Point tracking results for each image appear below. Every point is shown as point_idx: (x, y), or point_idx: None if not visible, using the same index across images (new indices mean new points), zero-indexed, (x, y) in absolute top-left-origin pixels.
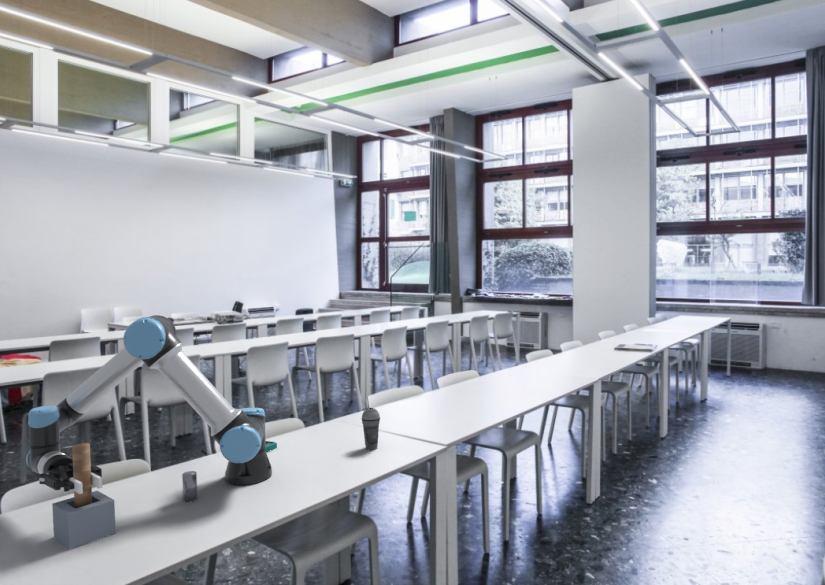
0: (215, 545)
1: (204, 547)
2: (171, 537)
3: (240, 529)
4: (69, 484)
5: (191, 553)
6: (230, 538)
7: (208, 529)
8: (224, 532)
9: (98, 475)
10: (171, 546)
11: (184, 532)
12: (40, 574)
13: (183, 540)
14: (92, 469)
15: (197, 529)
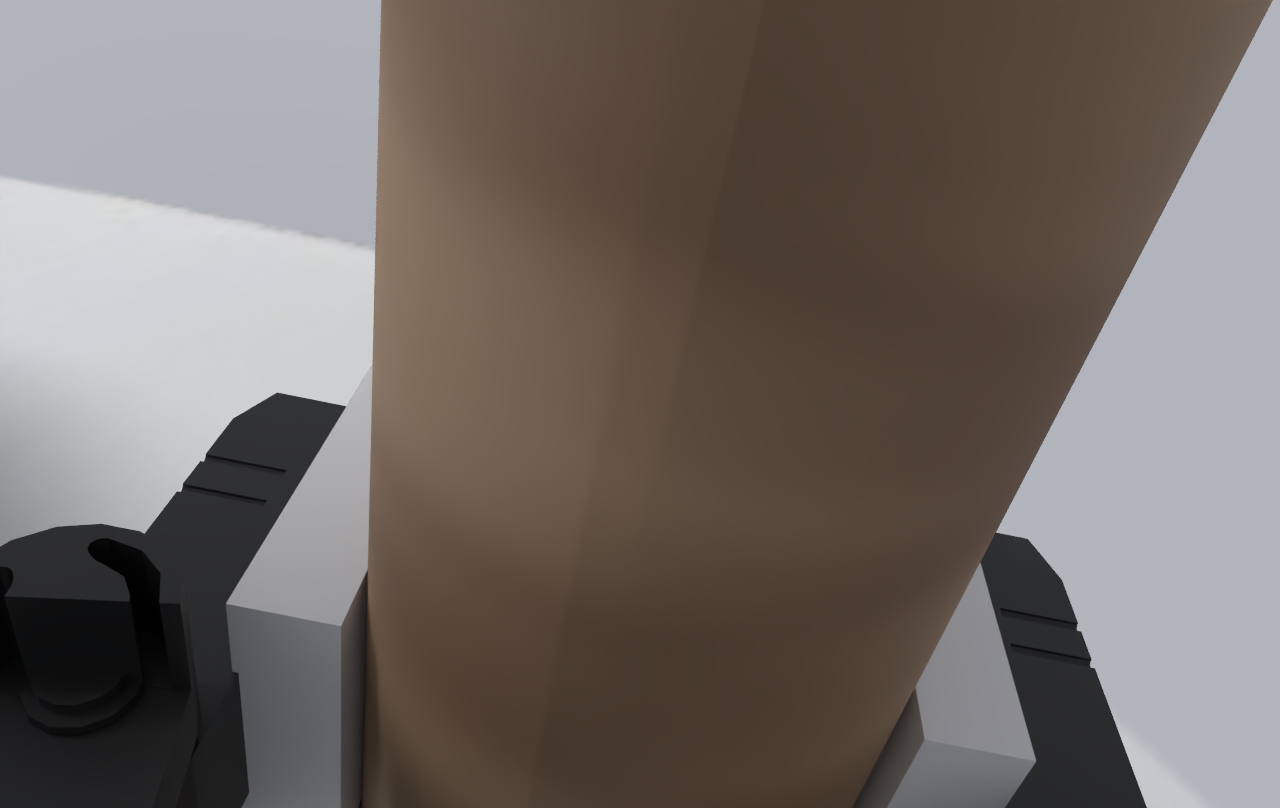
0: (245, 223)
1: (285, 245)
2: (212, 414)
3: (4, 206)
4: (1038, 555)
5: (368, 260)
6: (142, 205)
7: (26, 311)
8: (63, 243)
9: (233, 465)
10: (336, 354)
11: (106, 392)
12: None
13: (235, 344)
14: (126, 570)
15: (36, 356)
